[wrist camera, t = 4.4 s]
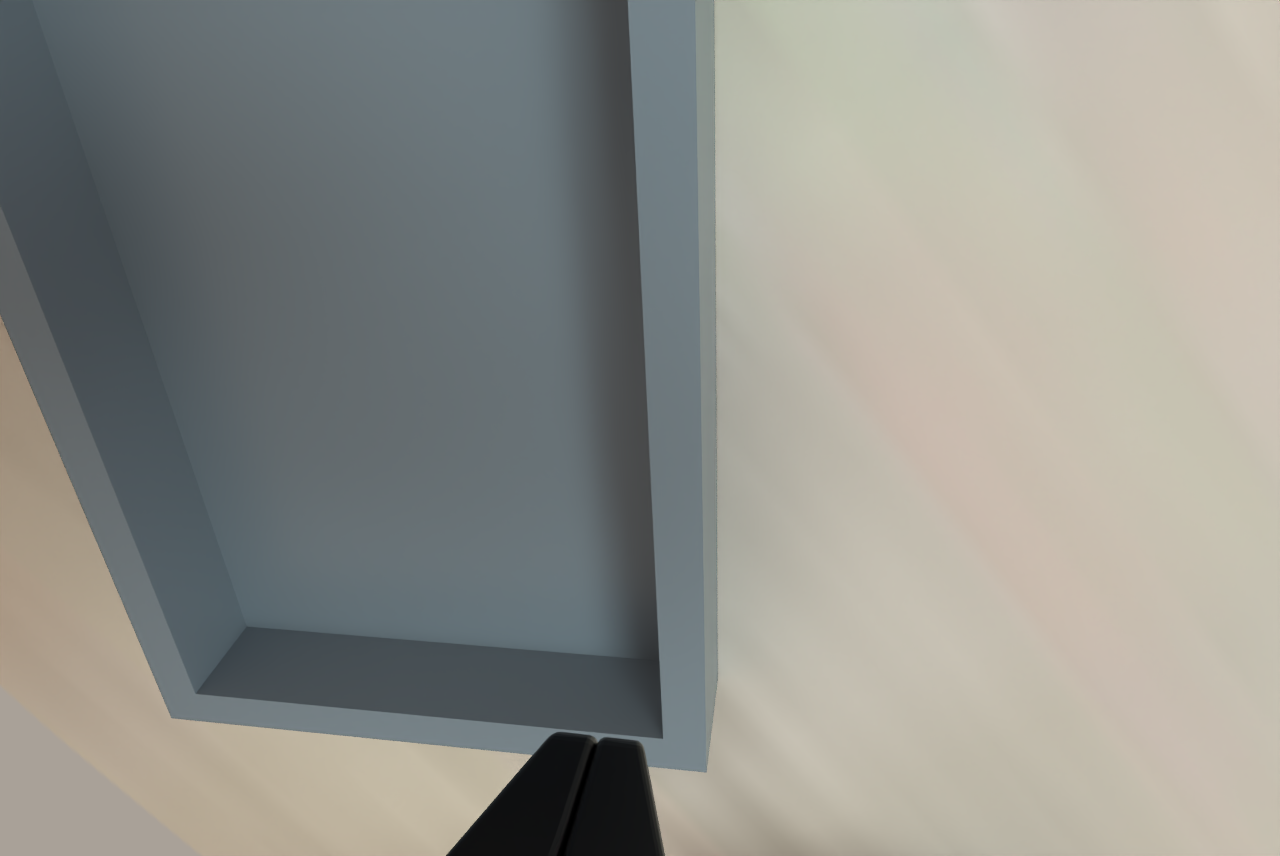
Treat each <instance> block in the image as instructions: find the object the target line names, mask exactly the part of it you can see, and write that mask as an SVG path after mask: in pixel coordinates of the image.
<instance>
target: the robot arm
mask: <svg viewBox="0 0 1280 856" xmlns="http://www.w3.org/2000/svg"><path fill="white" fill-rule="evenodd" d="M446 856H665V853H664V848H663V843H662V837H661V832H660V827H659V822H658V817H657V811H656V806H655V801H654V796H653V791H652V785H651V780H650V775H649V770H648V765H647V759H646V754H645V750H644V746H643V745H642V743H641V742H639V741H637V740H629V739H620V738H612V737H603V738H602V739H600V740H599V742H598V741H597V739H596V738H595V737H594V736H591V735H586V734H577V733H569V732H556V733H554V734H552V735H550V736H549V737H548V738H547V739H546V740H545V742H544V743H543V744H542V745H541V746H540V747H539V748H538V750H537V751H536V752H535V753H534V754H533V755H532V757H531V758H530V759H529V760H528V761H527V762H526V764H525V765H524V766H523V767H522V768H521V769H520V771H519V772H518V773H517V774H516V775H515V776H514V777H513V779H512V780H511V781H510V782H509V783H508V784H507V786H506V787H505V788H504V789H503V790H502V791H501V793H500V794H499V795H498V796H497V797H496V798H495V799H494V801H493V802H492V803H491V804H490V805H489V806H488V808H487V809H486V810H485V811H484V812H483V813H482V815H481V816H480V817H479V818H478V819H477V820H476V822H475V823H474V824H473V825H472V826H471V827H470V828H469V830H468V831H467V832H466V833H465V834H464V835H463V837H462V838H461V839H460V840H459V841H458V842H457V844H456V845H455V846H454V847H453V848H452V849H451V850H450V852H449V853H448V854H447V855H446Z"/></svg>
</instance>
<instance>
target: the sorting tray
mask: <svg viewBox="0 0 1280 856" xmlns="http://www.w3.org/2000/svg"><path fill="white" fill-rule="evenodd" d="M0 315H1V317H2V320H3V322H4V325H5V327H6V329H7V332H8V334H9V336H10V339H11V341H12V343H13V346H14V348H15V350H16V353H17V355H18V358H19V360H20V362H21V365H22V367H23V369H24V372H25V374H26V376H27V379H28V381H29V383H30V386H31V388H32V390H33V393H34V395H35V398H36V400H37V402H38V405H39V407H40V409H41V412H42V414H43V416H44V419H45V421H46V423H47V426H48V428H49V431H50V433H51V435H52V438H53V440H54V442H55V445H56V447H57V449H58V452H59V454H60V456H61V459H62V461H63V464H64V466H65V468H66V471H67V473H68V475H69V478H70V480H71V482H72V485H73V487H74V489H75V492H76V494H77V496H78V499H79V501H80V504H81V506H82V508H83V511H84V513H85V515H86V518H87V520H88V522H89V525H90V527H91V529H92V532H93V534H94V537H95V539H96V541H97V544H98V546H99V548H100V551H101V553H102V555H103V558H104V560H105V562H106V565H107V567H108V569H109V572H110V574H111V577H112V579H113V581H114V584H115V586H116V588H117V591H118V593H119V595H120V598H121V600H122V602H123V605H124V607H125V610H126V612H127V614H128V617H129V619H130V621H131V624H132V626H133V628H134V631H135V633H136V635H137V638H138V640H139V642H140V645H141V647H142V650H143V652H144V654H145V657H146V659H147V661H148V664H149V666H150V668H151V671H152V673H153V675H154V678H155V680H156V683H157V685H158V687H159V690H160V692H161V694H162V697H163V699H164V701H165V704H166V706H167V708H168V711H169V713H170V716H171V718H175V719H185V720H195V721H205V722H215V723H224V724H234V725H244V726H254V727H264V728H274V729H284V730H293V731H303V732H313V733H323V734H333V735H343V736H353V737H362V738H372V739H382V740H392V741H402V742H412V743H422V744H431V745H441V746H451V747H461V748H471V749H481V750H491V751H500V752H510V753H520V754H530V755H533V754H534V753H535V752H536V751H537V750H538V748H539V747H540V746H541V745H542V744H543V743H544V742H545V740H546V739H547V738H548V737H549V736H550V735H552V734H554V733H556V732H569V733H577V734H586V735H591V736H594V737H595V738H596V739H597V741H598V742H599V740H600V739H602V738H603V737H612V738H620V739H629V740H637V741H639V742H641V743H642V745H643V746H644V750H645V754H646V759H647V765H648V767H658V768H668V769H678V770H688V771H697V772H707V764H708V756H709V747H710V739H711V731H712V722H713V714H714V706H715V698H716V689H717V681H718V643H717V451H716V260H715V68H714V0H0Z"/></svg>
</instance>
